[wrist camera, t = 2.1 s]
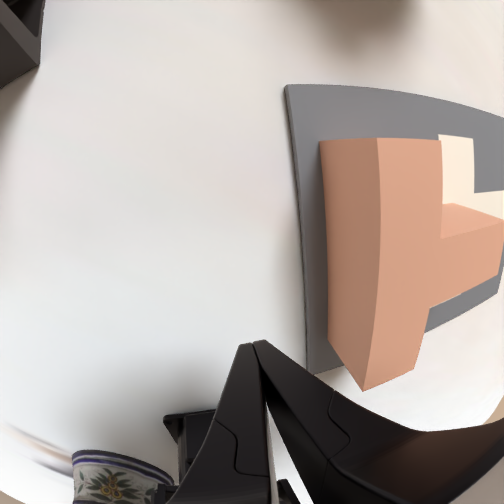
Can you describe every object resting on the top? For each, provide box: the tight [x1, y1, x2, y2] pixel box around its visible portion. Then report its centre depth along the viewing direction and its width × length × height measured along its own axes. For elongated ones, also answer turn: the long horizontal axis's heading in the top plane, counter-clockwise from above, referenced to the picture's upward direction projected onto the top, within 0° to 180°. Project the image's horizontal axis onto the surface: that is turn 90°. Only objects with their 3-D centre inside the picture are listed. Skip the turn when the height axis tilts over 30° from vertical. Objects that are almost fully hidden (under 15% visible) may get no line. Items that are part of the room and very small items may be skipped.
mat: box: [285, 84, 504, 375], centre depth 16 cm, size 18×23×1 cm
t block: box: [319, 138, 504, 392], centre depth 13 cm, size 12×10×5 cm
